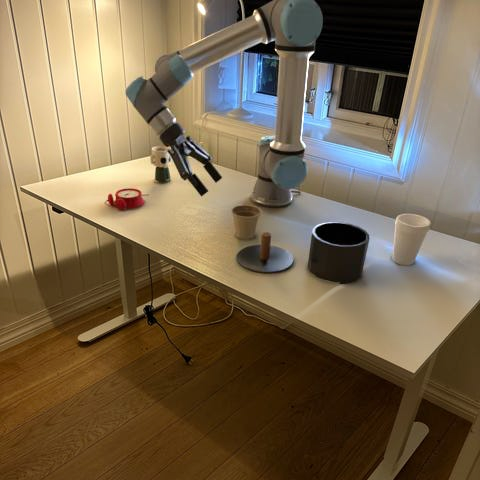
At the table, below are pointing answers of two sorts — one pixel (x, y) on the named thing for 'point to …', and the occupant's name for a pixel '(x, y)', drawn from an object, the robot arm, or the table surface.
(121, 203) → the alarm clock
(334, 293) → the table surface
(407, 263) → the foam cup
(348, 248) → the canister
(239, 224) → the flower pot
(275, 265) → the lid
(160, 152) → the character mug
